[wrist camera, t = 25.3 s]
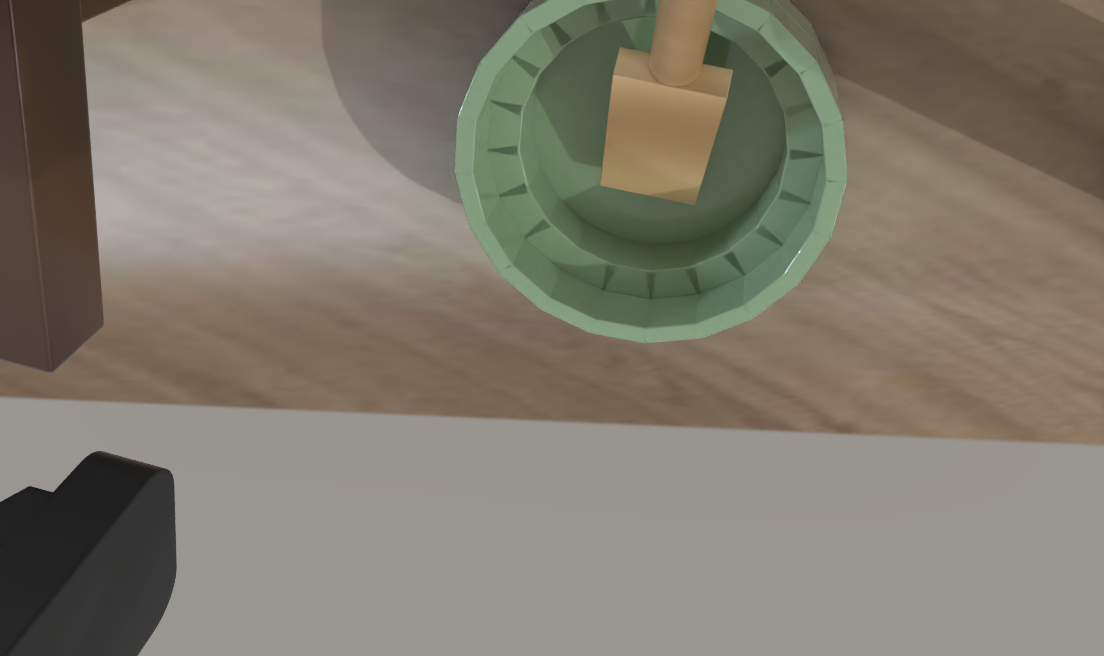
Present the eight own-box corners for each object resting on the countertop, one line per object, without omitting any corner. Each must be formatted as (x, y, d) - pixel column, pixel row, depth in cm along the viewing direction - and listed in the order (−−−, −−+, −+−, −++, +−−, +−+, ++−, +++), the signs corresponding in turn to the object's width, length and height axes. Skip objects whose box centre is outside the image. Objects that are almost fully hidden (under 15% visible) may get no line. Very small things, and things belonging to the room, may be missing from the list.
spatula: (831, -246, 24) (840, -299, 25) (655, -277, 25) (670, -328, 25) (694, 205, 45) (702, 169, 45) (599, 185, 45) (608, 149, 46)
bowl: (425, 51, 45) (382, 93, 40) (744, -132, 39) (741, -109, 34) (590, 321, 51) (571, 387, 46) (890, 200, 45) (906, 261, 40)
